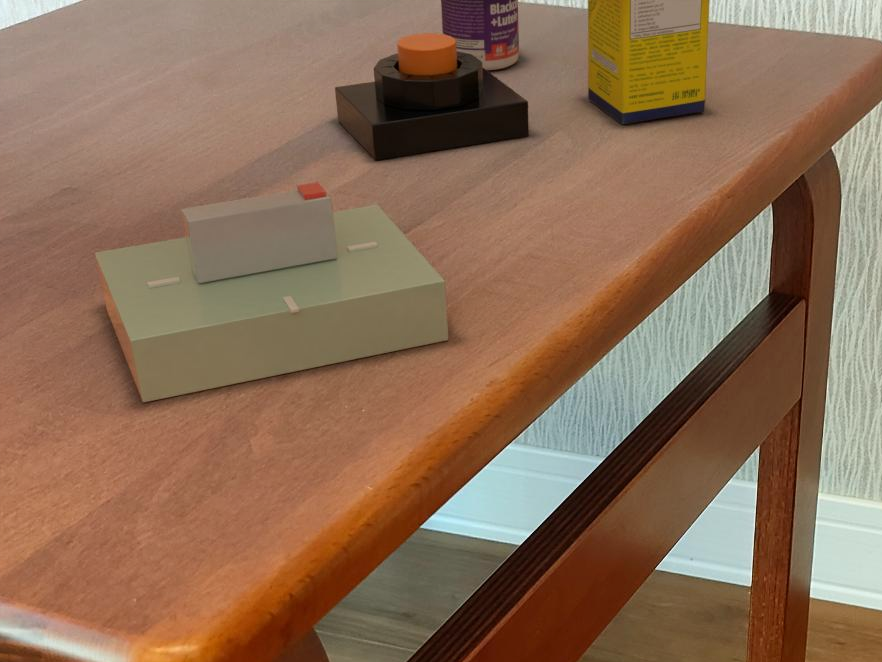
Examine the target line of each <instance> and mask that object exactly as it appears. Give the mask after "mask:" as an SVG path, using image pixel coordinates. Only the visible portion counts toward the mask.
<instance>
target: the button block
mask: <svg viewBox="0 0 882 662" xmlns="http://www.w3.org/2000/svg"><path fill="white" fill-rule="evenodd" d="M373 79H374V80H373V81H369V82H362V83H355V84H348V85H340V86H335V87H334V92H335V102H336V112H337V121H338V122H339V123H340V124H341V125H342V126H343V128H345V129H346V130H347V132H348V133H349V134H350V135H351V136H352V137H353V138H354V139H355V141H357V142H358V143H359V144H360V145H361V146H362V148H363V149H364V150H365V151H366V152H367V153H368V154H369V155H370V156H371V157H372V158H373V159H374V160H375V161H380V160H386V159H391V158H393V159H394V158H399V157H404V156H411V155H417V154H418V155H419V154H424V153H430V152H436V151H443V150H450V149H454V148H455V149H456V148H461V147H467V146H473V145H480V144H485V143H492V142H498V141H504V140H511V139H517V138H523V137H528V136H529V131H530V130H529V127H530V126H529V101H528V100H527V99H526V98H524V97H523V96H522V95H520V94H519V93H517V92H516V91H515V90H513V89H512V88H511V87H510V86H508V85H507V84H505V82H503V81H501V80H500V79H499V78H498V77H496V76H495V75H493V74H492V73H491V72H489V70H485V69H484V68H483V67H482V62H481V61H480V60H479V59H477V58H476V57H475V56H473V55H472V54H468V53H463V52H458V51H457V69H456V70H454V71H451V72H449V73H443V74H436V75H411V74H407V73H402V72H400V71H399V63H398V52H397V53H394V54H392V55H389V56H386V57H384V58H380V59H379V60H378V61H377V63H376V64H375V65H374V66H373Z"/></svg>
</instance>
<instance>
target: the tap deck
mask: <svg viewBox="0 0 882 662" xmlns="http://www.w3.org/2000/svg"><path fill="white" fill-rule="evenodd" d="M333 218H334V227H335V236H336V246H337V255H338V257H337V259H331V260H326V261H320V262H315V263H309V264H304V265H298V266H293V267H287V268H282V269H276V270H271V271H265V272H260V273H254V274H249V275H243V276H237V277H232V278H226V279H221V280H215V281H210V282H204V283H198V281H197V279H196V277H195V275H194V274H193V272H192V270H191V264H190V258H189V253H188V247H187V241H186V236H184V237H178V238H172V239H166V240H161V241H155V242H149V243H144V244H137V245H132V246H126V247H120V248H114V249H108V250H103V251H97V252H94V256H95V261H96V266H97V272H98V276H99V280H100V285H101V290H102V294H103V299H104V304H105V308H106V312H107V314H108V317H109V320H110V322H111V325H112V327H113V329H114V333H115V335H116V338H117V341H118V343H119V345H120V348H121V350H122V353H123V356H124V358H125V361H126V364H127V366H128V368H129V371H130V374H131V376H132V379H133V381H134V383H135V386H136V388H137V391H138V394H139V396H140V399H141V401H142V403H148V402H153V401H157V400H158V401H159V400H162V399H168V398H172V397H177V396H183V395H186V394H187V395H188V394H192V393H197V392H201V391H207V390H212V389H217V388H221V387H222V388H223V387H226V386H232V385H235V384H241V383H246V382H251V381H256V380H261V379H265V378H266V379H267V378H269V377H270V378H271V377H275V376H279V375H284V374H289V373H295V372H299V371H305V370H309V369H314V368H319V367H324V366H328V365H329V366H330V365H333V364H334V365H335V364H339V363H343V362H344V363H345V362H349V361H354V360H358V359H364V358H367V357H372V356H377V355H383V354H387V353H392V352H397V351H402V350H407V349H412V348H416V347H422V346H426V345H431V344H437V343H441V342H445V341H449V324H448V323H449V322H448V308H447V307H448V306H447V291H446V290H447V289H446V279H444V277H442V275H441V274H440V273H439V272H438V271H437V270H436V269H435V267H434V266H433V265H432V264H431V263H430V261H428V259H427V258H426V257H425V256H424V255H423V254H422V253H421V252H420V250H419V249H418V248H417V247H416V246H415V245H414V244H413V242H412V241H410V239H409V238H408V237H407V235H405V233H403V231H402V230H401V229H400V228H399V227H398V225H397V224H396V223H395V222H394V221H393V220H392V218H391V217H389V215H388V214H387V213H386V212H385V211H384V209H382V208H381V206H380V205H379V204H372V205H366V206H362V207H361V206H360V207H356V208H355V207H354V208H350V209H342V210H337V211H333Z"/></svg>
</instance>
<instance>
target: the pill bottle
mask: <svg viewBox="0 0 882 662" xmlns="http://www.w3.org/2000/svg"><path fill="white" fill-rule="evenodd" d="M440 5H441V9H440V10H441V29H442V34H444V35H448V36H451V37H453V38H455V40H456V49H457V51H458V52H463V53H468V54H472V55H473V56H475V57H476V58H477V59H479V60H480V61H481V62H482V67H483V68H484V69H485V70H487V71H497V70H502V69H506V68H508V67H511V66H512V65H514V64H515V63H517V62H518V60H519V54H520V38H519V37H520V36H519V0H440Z"/></svg>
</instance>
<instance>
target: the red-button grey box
mask: <svg viewBox="0 0 882 662" xmlns="http://www.w3.org/2000/svg"><path fill="white" fill-rule="evenodd" d="M296 188H297V189H295V190H294V189H293V190H289V191H281V192H277V193H269V194H264V195H260V196H258V195H257V196H251V197H246V198H240V199H233V200H228V201H221V202H215V203H209V204H203V205H197V206H190V207H185V208H182V209H181V216H182V223H183V227H184V228H183V229H184V235H185V237H186V241H187V247H188V253H189V258H190V264H191V270H192V272H193V274H194V275H195V277H196V279H197V281H198V283H204V282H210V281H215V280H221V279H226V278H232V277H237V276H243V275H249V274H254V273H260V272H265V271H271V270H276V269H282V268H287V267H293V266H298V265H304V264H309V263H315V262H320V261H326V260H331V259H337V257H338V255H337V246H336V236H335V227H334V218H333V212H334V210H333V209H334V208H333V200H332V197H331V196H330V194H329V193H328V192H327V190H326V189H325V188H324V186H322V185H321V183H319V181H317V182H311V183H304V184H297V185H296Z"/></svg>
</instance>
